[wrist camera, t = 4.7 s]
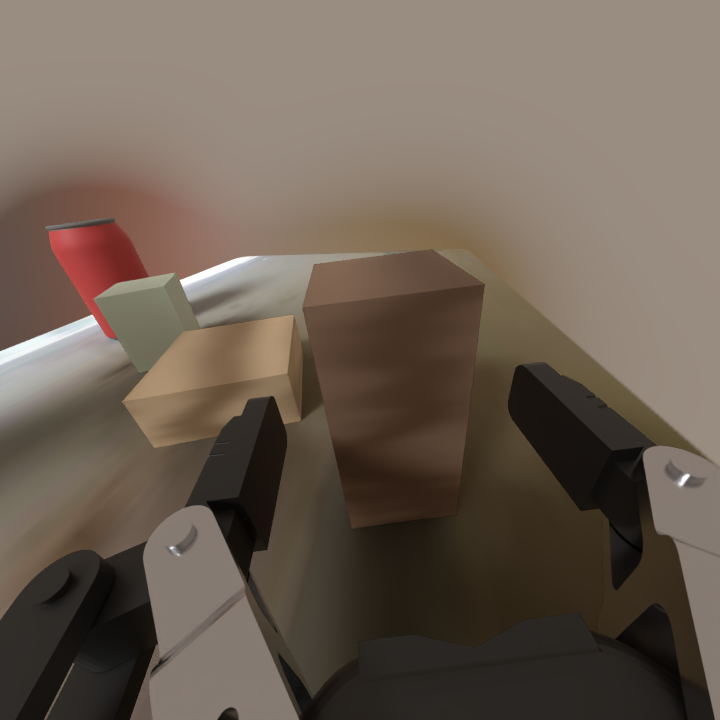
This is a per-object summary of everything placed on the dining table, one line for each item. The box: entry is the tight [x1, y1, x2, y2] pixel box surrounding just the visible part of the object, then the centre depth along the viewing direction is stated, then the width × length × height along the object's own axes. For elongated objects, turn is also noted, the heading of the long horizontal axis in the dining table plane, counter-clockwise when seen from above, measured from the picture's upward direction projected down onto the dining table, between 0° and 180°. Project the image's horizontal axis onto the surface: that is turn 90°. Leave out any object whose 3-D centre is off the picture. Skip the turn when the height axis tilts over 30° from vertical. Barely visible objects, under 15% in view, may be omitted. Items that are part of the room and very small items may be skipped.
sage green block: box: [93, 273, 200, 373], centre depth 27 cm, size 5×5×7 cm
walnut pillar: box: [302, 249, 485, 529], centre depth 12 cm, size 4×4×10 cm
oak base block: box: [122, 315, 303, 448], centre depth 21 cm, size 9×9×4 cm
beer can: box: [46, 218, 149, 339], centre depth 32 cm, size 7×7×12 cm
